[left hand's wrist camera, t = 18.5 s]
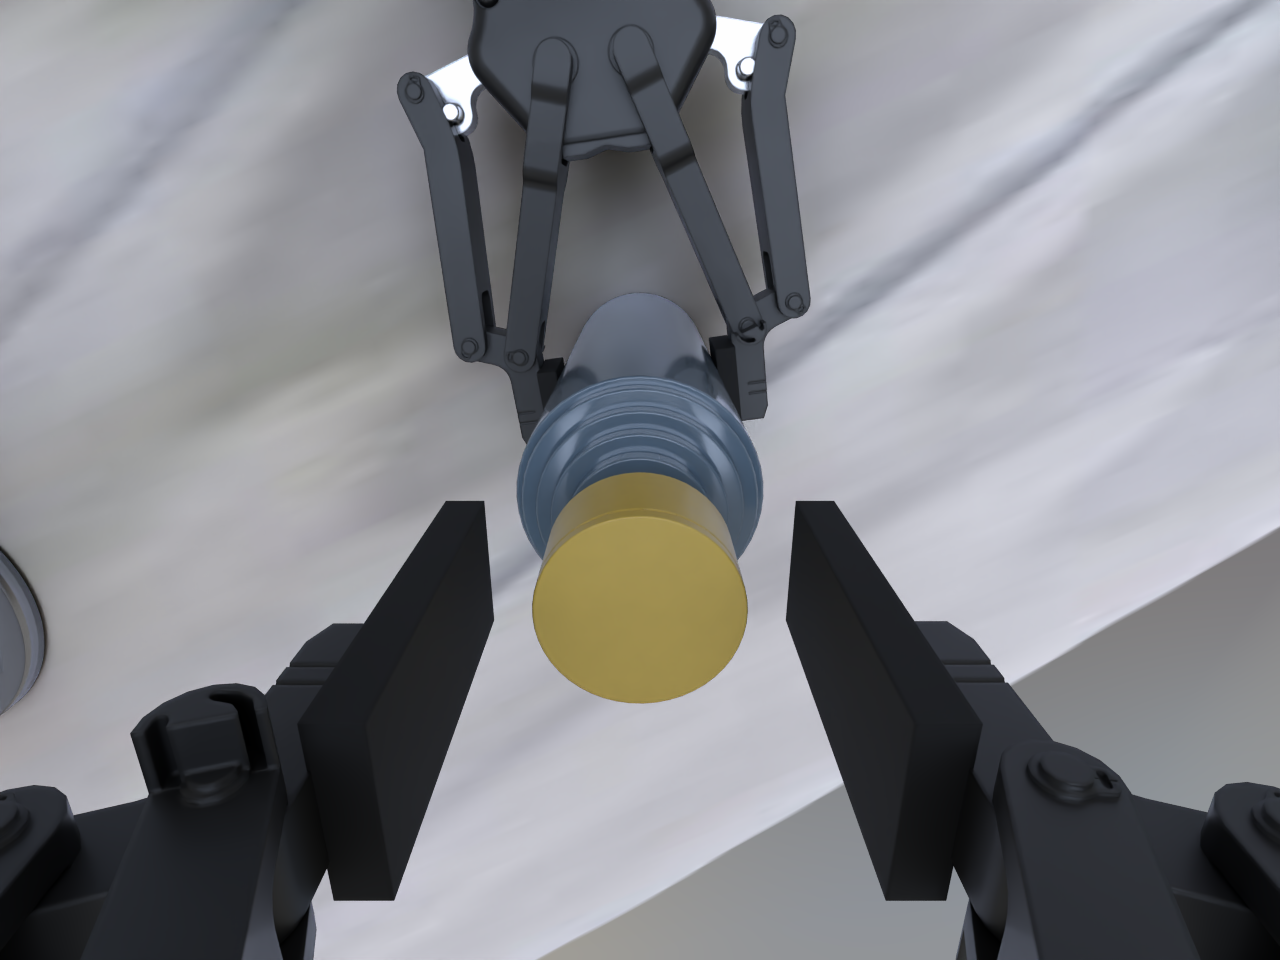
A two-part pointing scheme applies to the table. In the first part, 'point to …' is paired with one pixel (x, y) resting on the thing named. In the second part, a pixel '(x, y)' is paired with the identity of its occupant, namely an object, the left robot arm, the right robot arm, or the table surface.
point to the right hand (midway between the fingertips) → (655, 502)
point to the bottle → (639, 420)
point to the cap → (639, 590)
